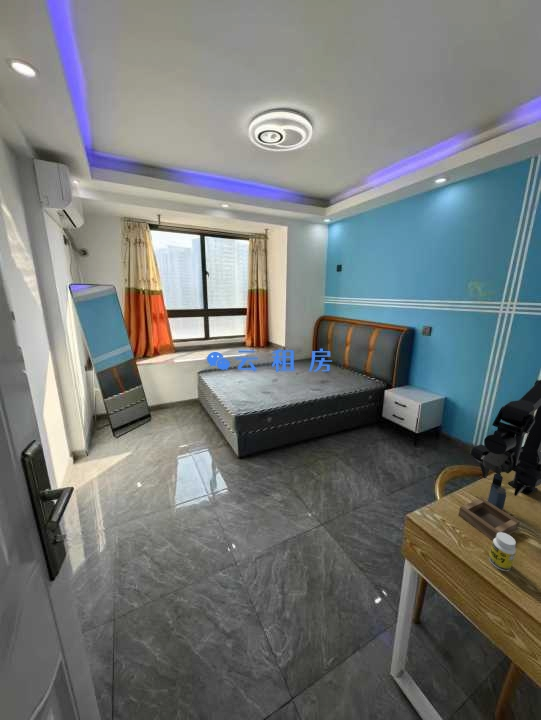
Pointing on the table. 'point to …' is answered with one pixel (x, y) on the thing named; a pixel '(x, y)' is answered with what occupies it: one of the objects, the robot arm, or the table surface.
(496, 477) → the vaping device
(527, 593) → the table surface
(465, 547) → the table surface
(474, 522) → the socket block
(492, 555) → the supplement bottle
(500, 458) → the robot arm
